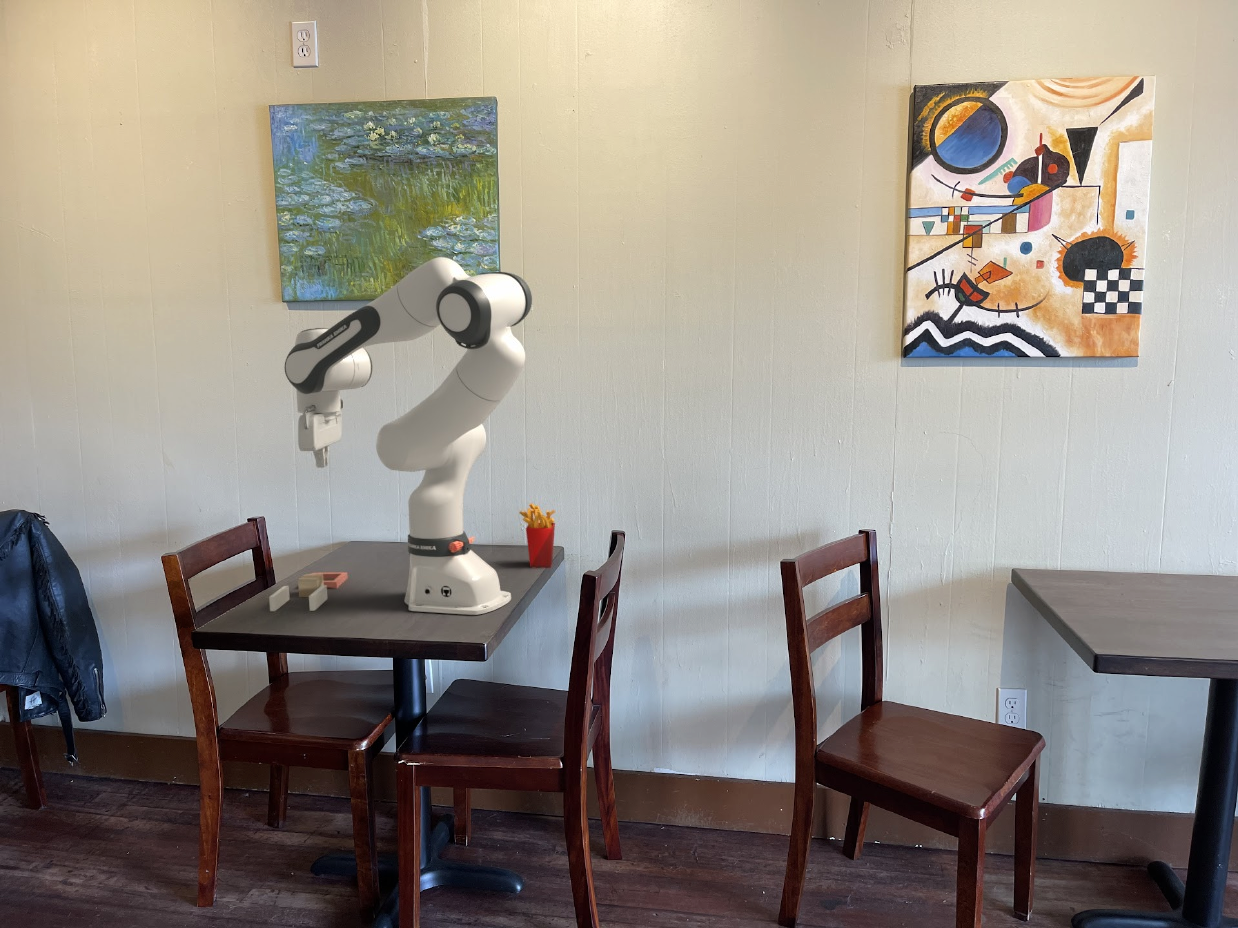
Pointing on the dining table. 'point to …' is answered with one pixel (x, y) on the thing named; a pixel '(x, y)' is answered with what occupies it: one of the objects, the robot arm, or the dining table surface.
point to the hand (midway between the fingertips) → (322, 466)
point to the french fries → (539, 536)
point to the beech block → (309, 584)
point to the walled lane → (283, 596)
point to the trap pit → (333, 579)
